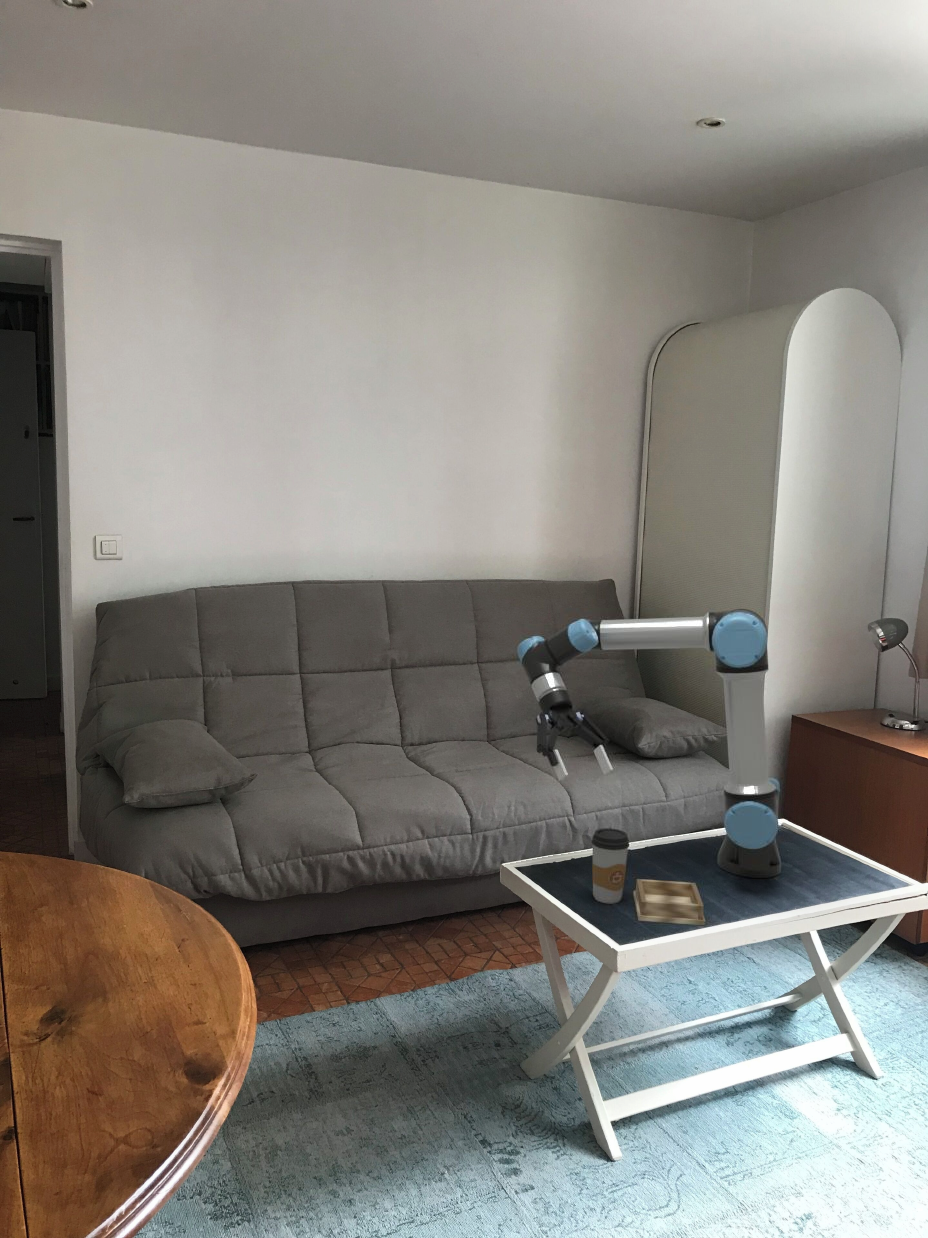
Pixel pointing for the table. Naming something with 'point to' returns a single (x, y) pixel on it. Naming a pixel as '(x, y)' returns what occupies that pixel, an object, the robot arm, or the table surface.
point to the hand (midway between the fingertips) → (586, 775)
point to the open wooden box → (668, 902)
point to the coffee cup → (609, 864)
